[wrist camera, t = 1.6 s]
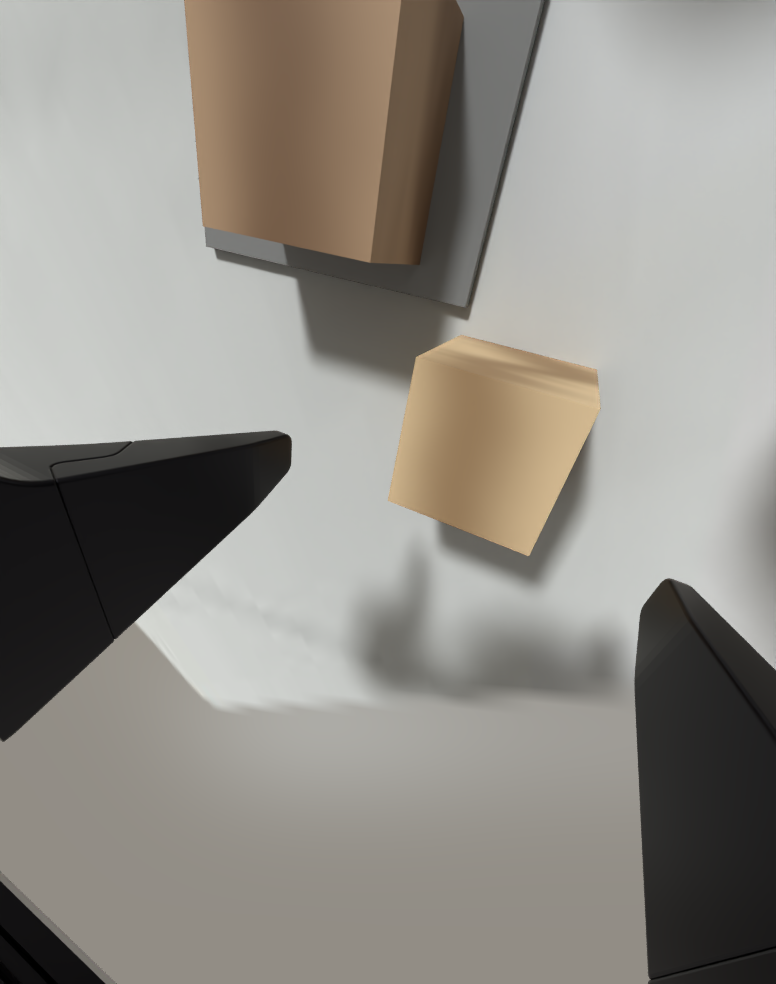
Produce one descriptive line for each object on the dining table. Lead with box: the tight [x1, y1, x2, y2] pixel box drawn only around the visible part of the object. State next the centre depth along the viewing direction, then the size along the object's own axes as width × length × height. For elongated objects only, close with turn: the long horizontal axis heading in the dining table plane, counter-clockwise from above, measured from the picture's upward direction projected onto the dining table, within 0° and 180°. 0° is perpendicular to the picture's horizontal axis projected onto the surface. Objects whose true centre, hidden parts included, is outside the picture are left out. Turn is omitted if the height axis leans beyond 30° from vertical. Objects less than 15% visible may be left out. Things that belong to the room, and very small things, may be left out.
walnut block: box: [184, 0, 464, 265], centre depth 12 cm, size 6×6×4 cm
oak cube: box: [388, 335, 601, 556], centre depth 14 cm, size 5×5×5 cm
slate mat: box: [205, 0, 545, 307], centre depth 13 cm, size 12×10×1 cm
